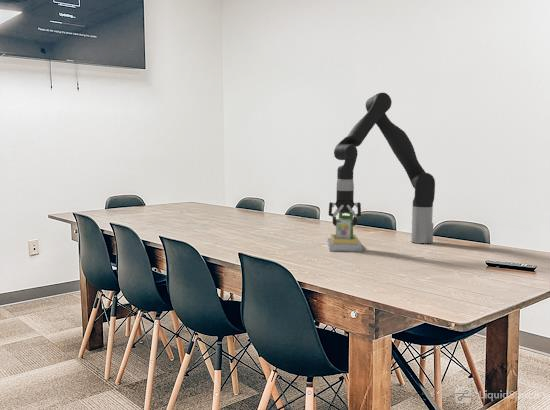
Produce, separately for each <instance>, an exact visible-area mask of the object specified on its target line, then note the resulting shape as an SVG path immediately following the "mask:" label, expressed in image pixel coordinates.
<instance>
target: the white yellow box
mask: <svg viewBox="0 0 550 410" xmlns="http://www.w3.org/2000/svg"><path fill="white" fill-rule="evenodd" d="M327 247H328V250H330V251H329V252H363V244H362V243H361V240H360V239H359V238H358V236H357V235H356V234H355V233H353V239H336V233H333V234H331V233H330V237H327Z"/></svg>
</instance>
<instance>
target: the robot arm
mask: <svg viewBox="0 0 550 410" xmlns="http://www.w3.org/2000/svg"><path fill="white" fill-rule="evenodd" d="M392 101H393V100H392V98H391V96H390V95H389V94H388V93H386V92H379V93H376V94H375V95H372V96H371V97H370V98H368V99H367V100H366V102H365V110H366V113H365V115H363V116H362V117H361V119H359V120H358V122H357V123H356V124H355V125H354V126H353V127H352V129H351V130H350V131H349V133H348V134H347V136H345V137H344V138H343V139H342V140H340V142H338V143H337V145H336V146H335V147H334V150H333V156H334V158H335V159H337V160H339V161H343V165H339V166H338V167H337V170H336V171H337V174H336V175H337V176H336V178H337V180H336V198H335V200H336V201H335V202H331V201H330V202H329V203H328V216H330V217H332V225H334V226H335V227H336V219H337V217H336V216H338V215H339V212H351V213H352V214H353V227H354V226H356V225H357V223H358V219H357V218H358V217H361V216H362V208H361V207H362V205H361V204H362V203H361V202H354V201H355V200H354V193H355V192H354V190H355V184H354V169H355V165H356V163H357V162H356V161H357V159H358V154H359V153H358V149H357V148H358V147H359V146H361V145H362V143H363V142H364V140H365V139H366V137H367V136H368V134H369V132H371V130H372V129H373V128H374V126H375V125H376V126H377V127H378V129H379V130H380V132H381V133H382V135H383V137H384V138H385V140H386V141H387V143H388V146H389V147H390V149H391V150H392V152H393V154H394V155H395V157H396V159H397V160H398V161H399V162H400V164H401V166H402V168H403V169H404V170H405V173H406V174H407V177H408V178H409V181H410V183H411V186H412V188H413V189H414V197H413V199H412V210H411V211H412V212H411V213H412V214H411V218H412V219H411V243H413V242H415V243H414V244H419V243H424V244H425V243H426V244H427V243H429V244H433V242H434V222H433V208H434V207H433V206H434V201H435V196H436V195H435V194H436V193H435V192H436V180H435V177H434V176H433V175H432V174H431V173H428V172H426V171H425V169H424V168H423V167H422V165H421V164H420V162H419V160H418V157H417V155H416V152H415V148H414V146H413V144H412V142H411V139H410V138H409V136H408V135H407V133H406V132H405V130H403V129H402V128H401V127H399V126H398V125H396V124H395V123H394V122H392V121H391V119H390V118H389V117H388V115H387V114H386V113H387V112H388V111H389V110H390V109H391V107H392V103H393V102H392ZM334 207H336V210H334V212H333V208H334ZM354 207H355V208H357V213H356V212H355V211H354V210H353V208H354ZM332 212H333V213H332ZM424 244H423V245H424Z"/></svg>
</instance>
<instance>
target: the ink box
mask: <svg viewBox="0 0 550 410" xmlns="http://www.w3.org/2000/svg"><path fill="white" fill-rule="evenodd" d="M343 214H348V215H343ZM353 217H354V216H353V214H352V213H351V212H339V213H338V218H336V226H335V234H336V239H353V234H354V226H353Z"/></svg>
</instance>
